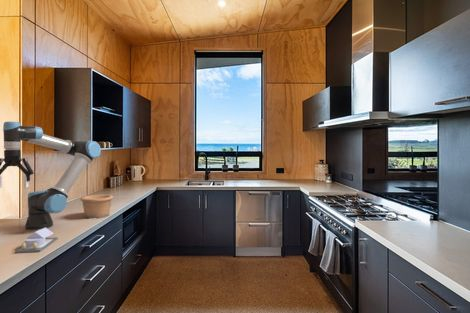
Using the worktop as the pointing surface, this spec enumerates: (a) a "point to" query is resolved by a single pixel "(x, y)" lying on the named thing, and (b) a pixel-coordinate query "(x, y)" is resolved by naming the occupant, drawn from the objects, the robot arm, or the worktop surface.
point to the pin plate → (35, 248)
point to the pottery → (96, 205)
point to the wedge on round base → (38, 238)
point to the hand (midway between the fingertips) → (13, 187)
